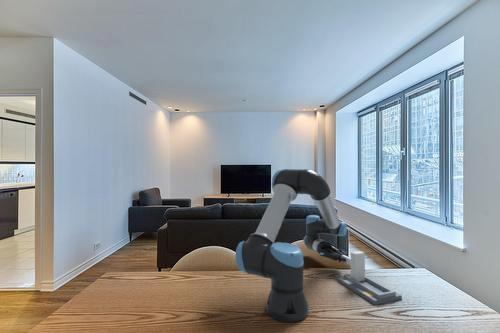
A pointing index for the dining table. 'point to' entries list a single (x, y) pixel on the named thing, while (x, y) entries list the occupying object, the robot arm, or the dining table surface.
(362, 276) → the switch tab
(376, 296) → the switch board
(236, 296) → the dining table surface
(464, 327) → the dining table surface
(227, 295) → the dining table surface
